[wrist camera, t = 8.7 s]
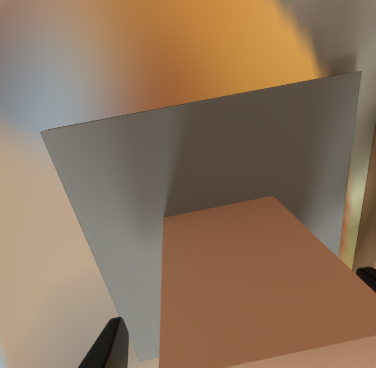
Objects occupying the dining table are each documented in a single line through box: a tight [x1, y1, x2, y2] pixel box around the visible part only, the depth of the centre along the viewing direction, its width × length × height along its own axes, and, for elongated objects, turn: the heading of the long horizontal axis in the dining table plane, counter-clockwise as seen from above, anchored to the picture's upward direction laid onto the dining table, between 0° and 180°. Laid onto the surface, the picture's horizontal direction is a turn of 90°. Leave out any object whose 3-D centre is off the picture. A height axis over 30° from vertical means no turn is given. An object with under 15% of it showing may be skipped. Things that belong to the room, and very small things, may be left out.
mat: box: [40, 71, 361, 362], centre depth 11 cm, size 14×12×1 cm
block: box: [159, 196, 376, 368], centre depth 8 cm, size 5×5×6 cm
